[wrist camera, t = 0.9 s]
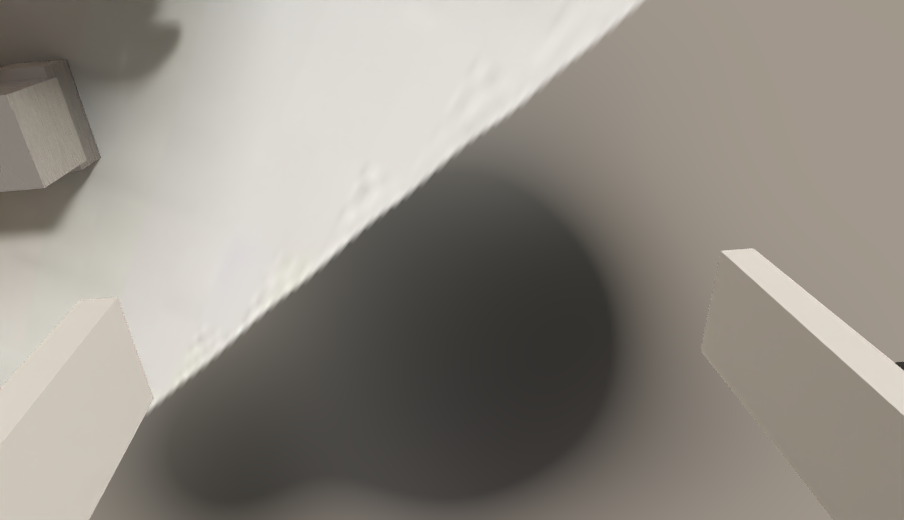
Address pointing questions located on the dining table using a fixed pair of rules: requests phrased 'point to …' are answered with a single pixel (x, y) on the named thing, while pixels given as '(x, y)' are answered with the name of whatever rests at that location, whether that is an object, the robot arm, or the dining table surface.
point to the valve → (41, 126)
